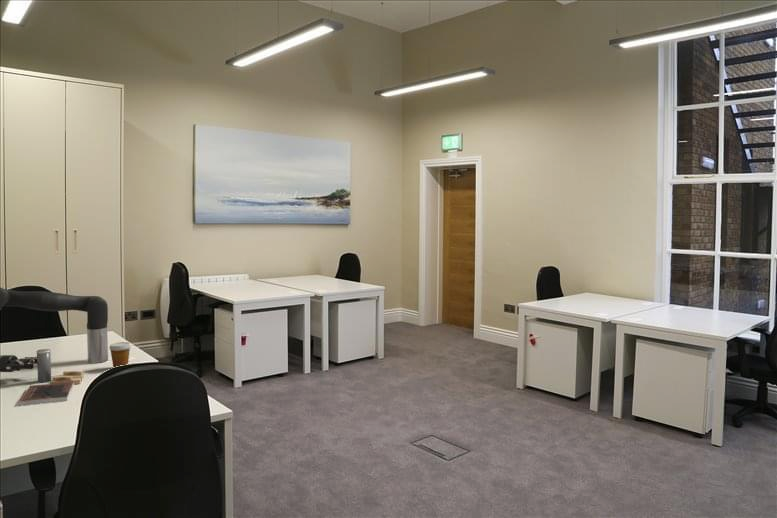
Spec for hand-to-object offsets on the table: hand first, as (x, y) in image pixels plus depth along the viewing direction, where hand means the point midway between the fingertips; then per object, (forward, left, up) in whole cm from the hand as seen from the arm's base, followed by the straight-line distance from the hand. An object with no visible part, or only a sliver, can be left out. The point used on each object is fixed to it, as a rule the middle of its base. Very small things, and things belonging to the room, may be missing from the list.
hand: (39, 363), depth 249 cm
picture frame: (+23, +8, -9) cm, 26 cm away
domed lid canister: (+1, +2, -8) cm, 8 cm away
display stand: (+6, +12, -8) cm, 15 cm away
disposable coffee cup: (-11, +32, -8) cm, 35 cm away
